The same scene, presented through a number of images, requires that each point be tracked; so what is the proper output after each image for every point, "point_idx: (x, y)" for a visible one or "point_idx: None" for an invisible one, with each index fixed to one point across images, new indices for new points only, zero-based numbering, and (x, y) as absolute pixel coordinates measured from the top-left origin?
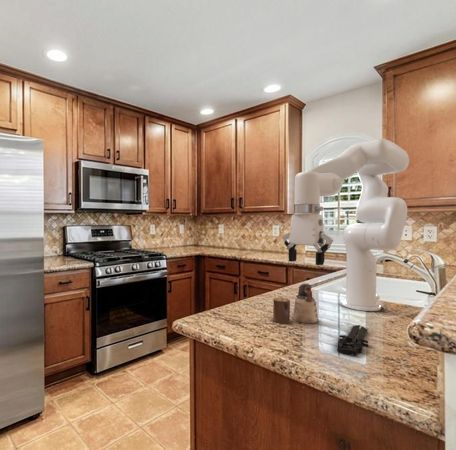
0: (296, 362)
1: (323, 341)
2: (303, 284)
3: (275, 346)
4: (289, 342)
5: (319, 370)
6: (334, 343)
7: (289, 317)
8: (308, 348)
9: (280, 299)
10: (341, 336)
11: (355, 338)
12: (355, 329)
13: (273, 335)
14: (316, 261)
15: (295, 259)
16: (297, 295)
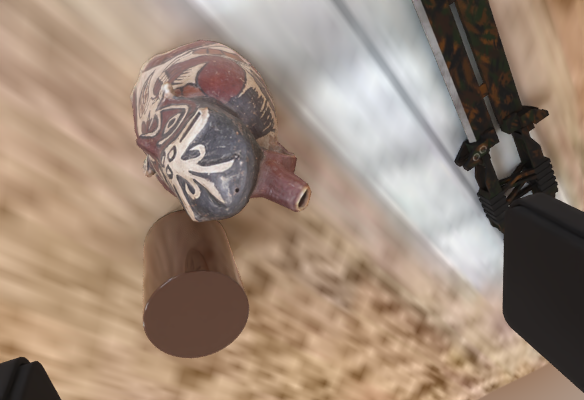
0: (489, 380)
1: (435, 227)
2: (235, 210)
3: (400, 387)
4: (395, 337)
5: (536, 353)
6: (463, 203)
7: (224, 236)
8: (450, 308)
9: (194, 322)
10: (472, 165)
11: (497, 114)
12: (440, 6)
13: (328, 357)
14: (551, 349)
15: (38, 395)
16: (151, 172)
